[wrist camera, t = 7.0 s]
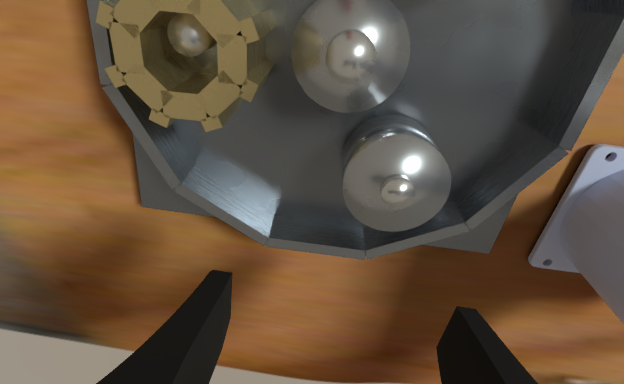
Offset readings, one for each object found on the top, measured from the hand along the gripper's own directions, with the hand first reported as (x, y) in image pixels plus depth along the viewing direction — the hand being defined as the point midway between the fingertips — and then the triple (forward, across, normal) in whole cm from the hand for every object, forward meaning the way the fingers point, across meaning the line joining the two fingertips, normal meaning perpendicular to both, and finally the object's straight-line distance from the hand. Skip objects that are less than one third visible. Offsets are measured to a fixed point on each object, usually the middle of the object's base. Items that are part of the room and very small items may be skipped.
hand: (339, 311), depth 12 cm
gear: (+8, +7, -6) cm, 12 cm away
